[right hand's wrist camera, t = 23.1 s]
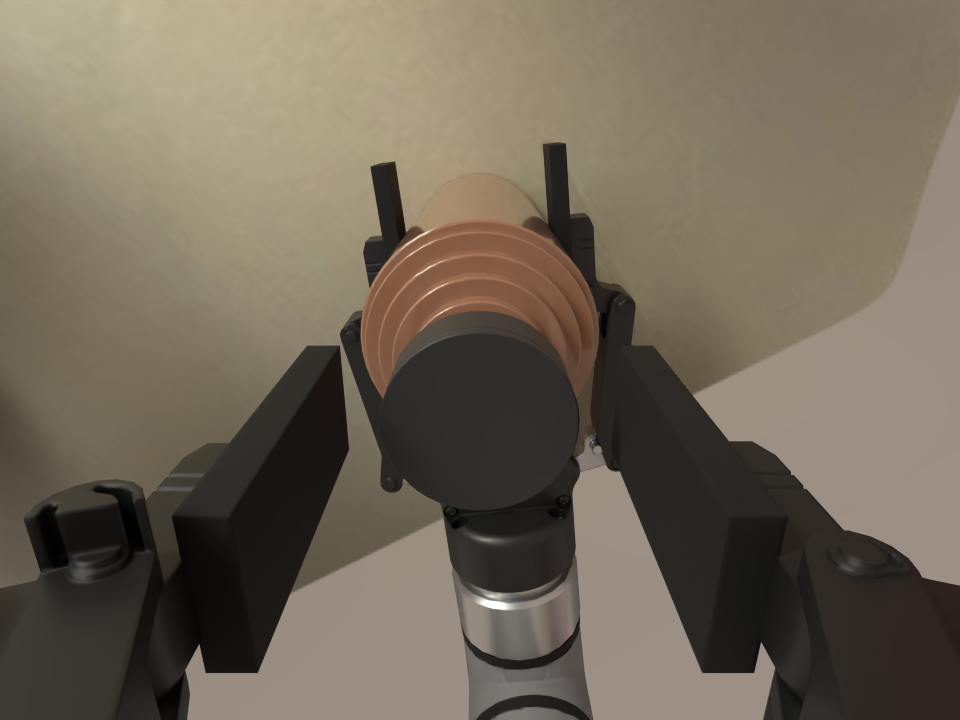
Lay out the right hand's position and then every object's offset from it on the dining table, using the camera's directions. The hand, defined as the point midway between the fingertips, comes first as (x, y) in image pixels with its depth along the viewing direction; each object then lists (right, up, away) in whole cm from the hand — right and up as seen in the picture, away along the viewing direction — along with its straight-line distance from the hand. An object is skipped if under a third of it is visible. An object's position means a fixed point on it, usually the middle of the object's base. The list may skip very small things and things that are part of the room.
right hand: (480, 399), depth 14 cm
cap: (0, 0, -1) cm, 1 cm away
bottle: (0, +8, +22) cm, 23 cm away
